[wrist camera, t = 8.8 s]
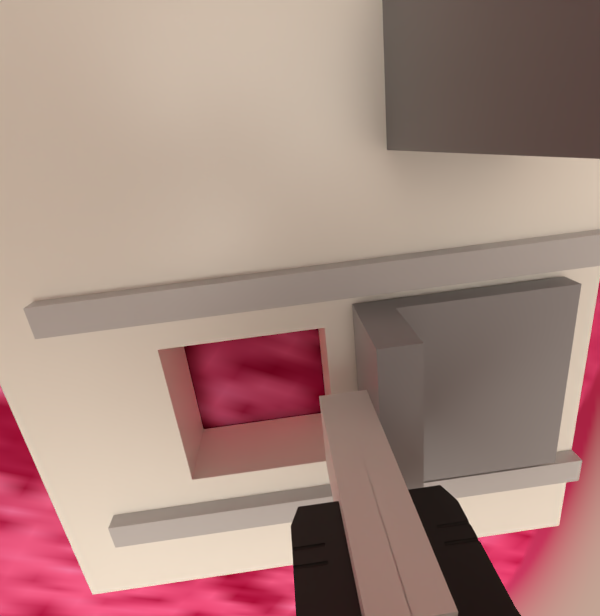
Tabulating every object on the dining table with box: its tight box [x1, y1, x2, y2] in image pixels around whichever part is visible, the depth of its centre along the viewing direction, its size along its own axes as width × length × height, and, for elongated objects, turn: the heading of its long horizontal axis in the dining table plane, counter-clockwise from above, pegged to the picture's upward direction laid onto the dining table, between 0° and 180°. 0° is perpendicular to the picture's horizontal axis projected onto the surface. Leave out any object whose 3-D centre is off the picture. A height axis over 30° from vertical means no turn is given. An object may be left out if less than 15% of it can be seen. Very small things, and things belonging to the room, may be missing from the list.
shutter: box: [352, 276, 581, 490], centre depth 13 cm, size 7×7×3 cm
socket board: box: [0, 0, 600, 594], centre depth 15 cm, size 20×22×4 cm
